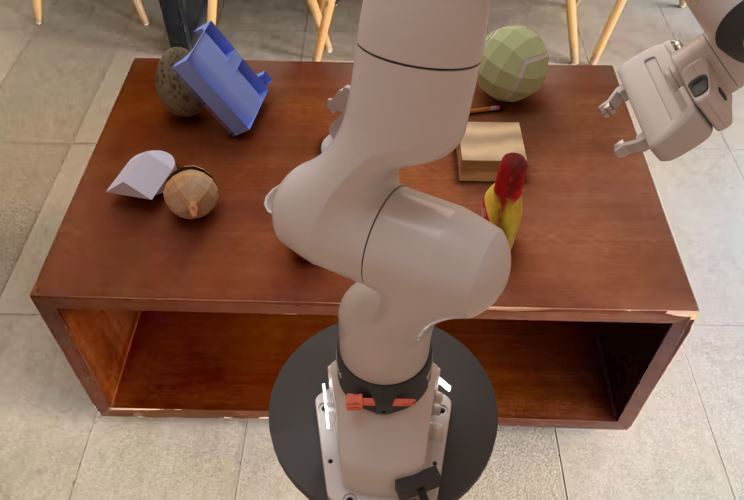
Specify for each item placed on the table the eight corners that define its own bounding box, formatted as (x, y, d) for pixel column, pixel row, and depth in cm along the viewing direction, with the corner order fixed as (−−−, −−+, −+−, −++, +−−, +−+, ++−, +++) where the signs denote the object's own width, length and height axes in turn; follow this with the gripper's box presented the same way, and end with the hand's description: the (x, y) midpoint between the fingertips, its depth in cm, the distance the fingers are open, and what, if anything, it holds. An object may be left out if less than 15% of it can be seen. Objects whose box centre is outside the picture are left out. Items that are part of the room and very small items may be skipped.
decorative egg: (217, 124, 140) (204, 59, 129) (163, 131, 138) (146, 66, 127) (213, 95, 147) (200, 31, 136) (162, 101, 145) (146, 37, 134)
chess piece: (342, 128, 139) (339, 64, 128) (380, 146, 135) (381, 81, 124) (310, 152, 133) (305, 87, 123) (349, 172, 129) (347, 106, 118)
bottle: (513, 274, 111) (535, 182, 97) (475, 269, 112) (490, 178, 98) (514, 224, 120) (534, 132, 105) (478, 220, 120) (493, 128, 106)
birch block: (523, 181, 127) (527, 161, 124) (459, 180, 128) (462, 160, 124) (515, 142, 136) (519, 122, 132) (455, 141, 136) (457, 121, 132)
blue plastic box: (249, 129, 134) (224, 140, 138) (273, 79, 144) (248, 90, 148) (186, 60, 124) (161, 73, 128) (217, 10, 134) (192, 24, 138)
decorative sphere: (535, 60, 129) (503, 122, 139) (573, 45, 138) (541, 104, 148) (477, 19, 134) (450, 82, 144) (518, 7, 143) (490, 67, 154)
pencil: (498, 105, 144) (411, 116, 141) (500, 104, 143) (412, 115, 140) (498, 109, 144) (412, 120, 141) (500, 109, 143) (413, 120, 140)
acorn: (197, 146, 122) (191, 171, 108) (230, 185, 126) (227, 214, 112) (156, 175, 123) (145, 203, 109) (190, 213, 127) (182, 245, 113)
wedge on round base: (156, 213, 121) (186, 167, 130) (146, 185, 116) (178, 139, 125) (111, 205, 123) (143, 160, 131) (99, 177, 118) (134, 133, 127)
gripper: (666, 20, 96) (582, 79, 103) (713, 103, 82) (612, 164, 89) (687, 49, 99) (604, 104, 107) (736, 133, 85) (636, 190, 93)
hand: (608, 132), depth 98 cm, fingers open, 8 cm apart
